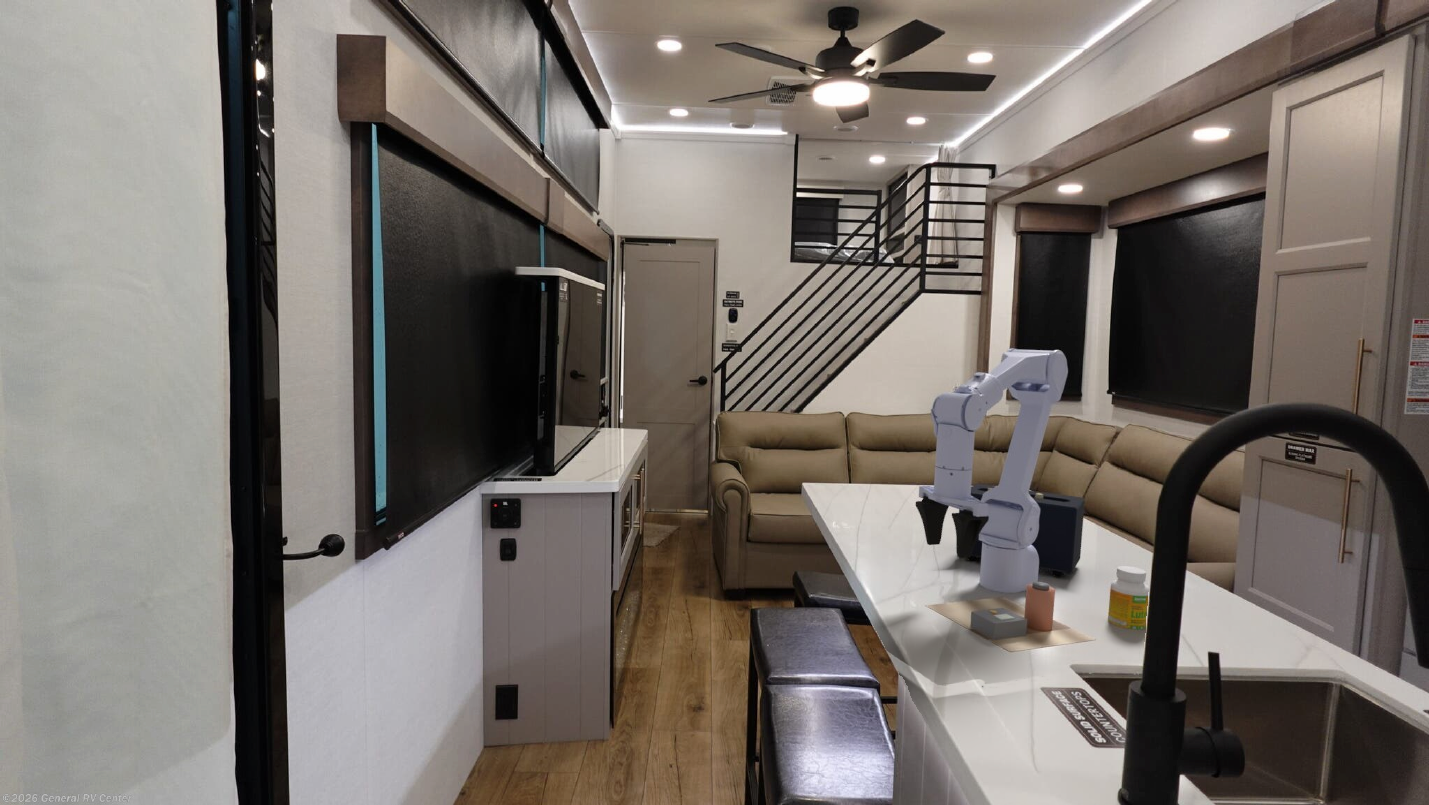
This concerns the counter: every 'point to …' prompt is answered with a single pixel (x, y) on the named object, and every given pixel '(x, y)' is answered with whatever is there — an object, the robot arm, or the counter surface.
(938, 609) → the board
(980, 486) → the speaker
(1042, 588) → the peg
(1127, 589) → the supplement bottle
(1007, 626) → the block
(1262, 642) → the counter surface
